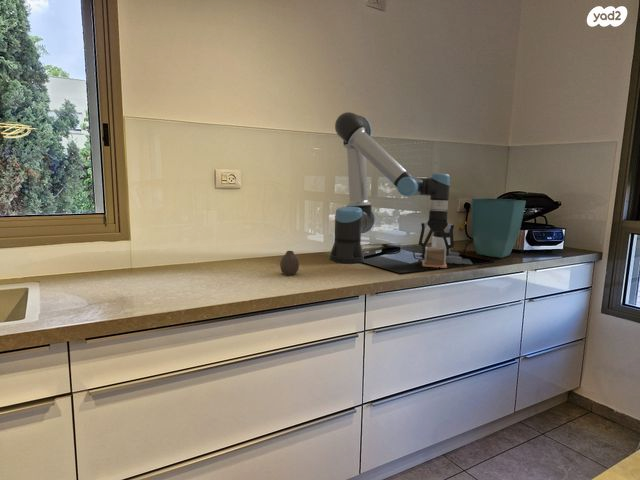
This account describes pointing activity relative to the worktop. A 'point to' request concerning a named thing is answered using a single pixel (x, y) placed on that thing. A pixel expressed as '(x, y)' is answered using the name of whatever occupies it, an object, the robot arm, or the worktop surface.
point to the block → (435, 256)
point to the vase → (289, 264)
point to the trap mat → (466, 262)
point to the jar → (440, 239)
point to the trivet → (434, 265)
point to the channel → (453, 258)
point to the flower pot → (496, 225)
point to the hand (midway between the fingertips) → (434, 262)
